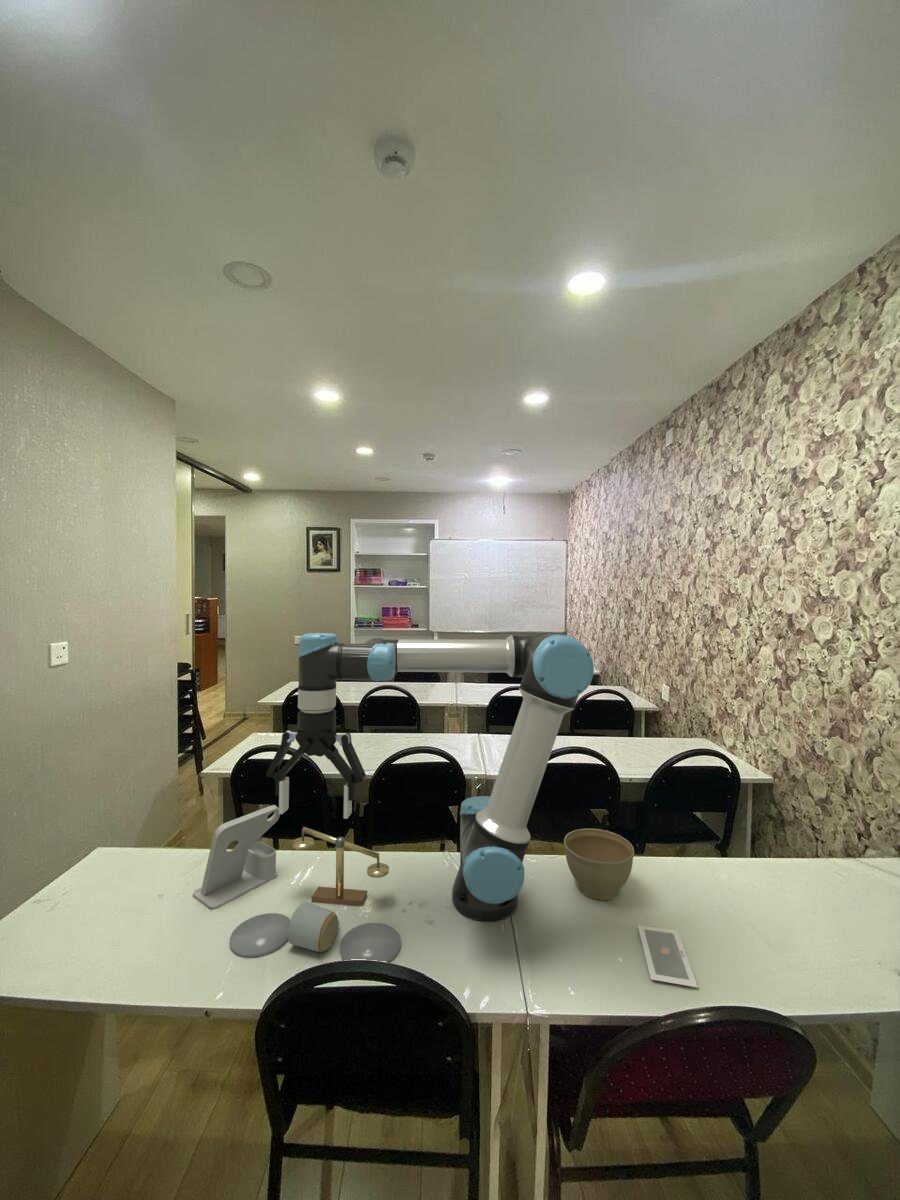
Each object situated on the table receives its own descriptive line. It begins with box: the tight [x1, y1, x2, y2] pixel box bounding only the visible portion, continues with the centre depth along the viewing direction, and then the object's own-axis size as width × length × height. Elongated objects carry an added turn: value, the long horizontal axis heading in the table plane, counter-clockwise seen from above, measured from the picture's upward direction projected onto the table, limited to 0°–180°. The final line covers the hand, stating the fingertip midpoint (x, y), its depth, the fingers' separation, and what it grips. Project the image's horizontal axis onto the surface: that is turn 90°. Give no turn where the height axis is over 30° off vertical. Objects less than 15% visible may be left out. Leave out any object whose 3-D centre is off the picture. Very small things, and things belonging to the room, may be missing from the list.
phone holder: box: [192, 804, 281, 911], centre depth 115 cm, size 17×10×18 cm, turn 144°
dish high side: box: [229, 912, 291, 959], centre depth 97 cm, size 12×12×1 cm
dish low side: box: [339, 922, 402, 963], centre depth 94 cm, size 12×12×1 cm
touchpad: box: [637, 924, 699, 988], centre depth 92 cm, size 8×15×2 cm, turn 167°
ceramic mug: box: [288, 901, 340, 953], centre depth 96 cm, size 10×8×7 cm
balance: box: [291, 826, 390, 907], centre depth 110 cm, size 23×5×16 cm, turn 83°
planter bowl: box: [563, 828, 635, 901], centre depth 114 cm, size 16×16×11 cm
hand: (315, 813), depth 96 cm, fingers open, 13 cm apart
